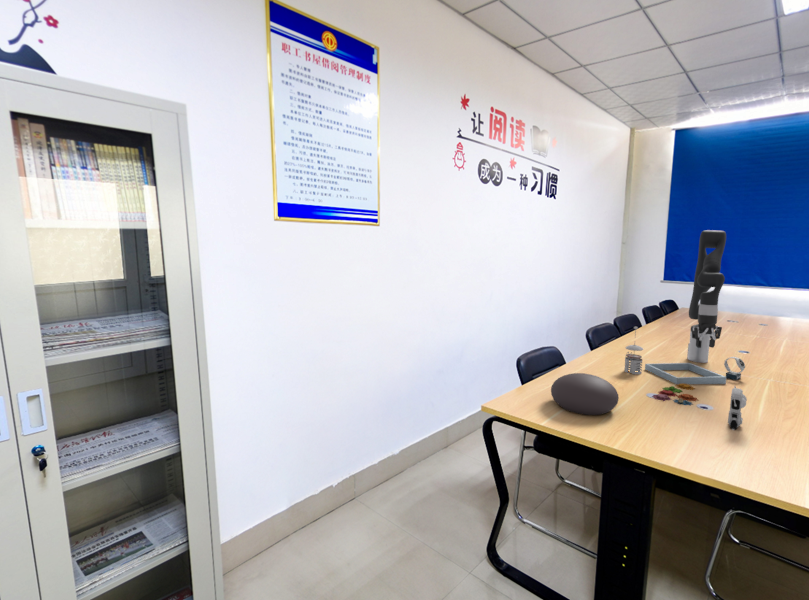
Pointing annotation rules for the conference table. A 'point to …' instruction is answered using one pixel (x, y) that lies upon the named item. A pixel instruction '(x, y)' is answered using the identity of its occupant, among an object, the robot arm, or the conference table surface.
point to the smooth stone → (584, 394)
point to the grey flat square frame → (708, 379)
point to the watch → (732, 374)
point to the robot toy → (736, 408)
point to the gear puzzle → (671, 392)
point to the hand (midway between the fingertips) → (705, 347)
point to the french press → (633, 359)
